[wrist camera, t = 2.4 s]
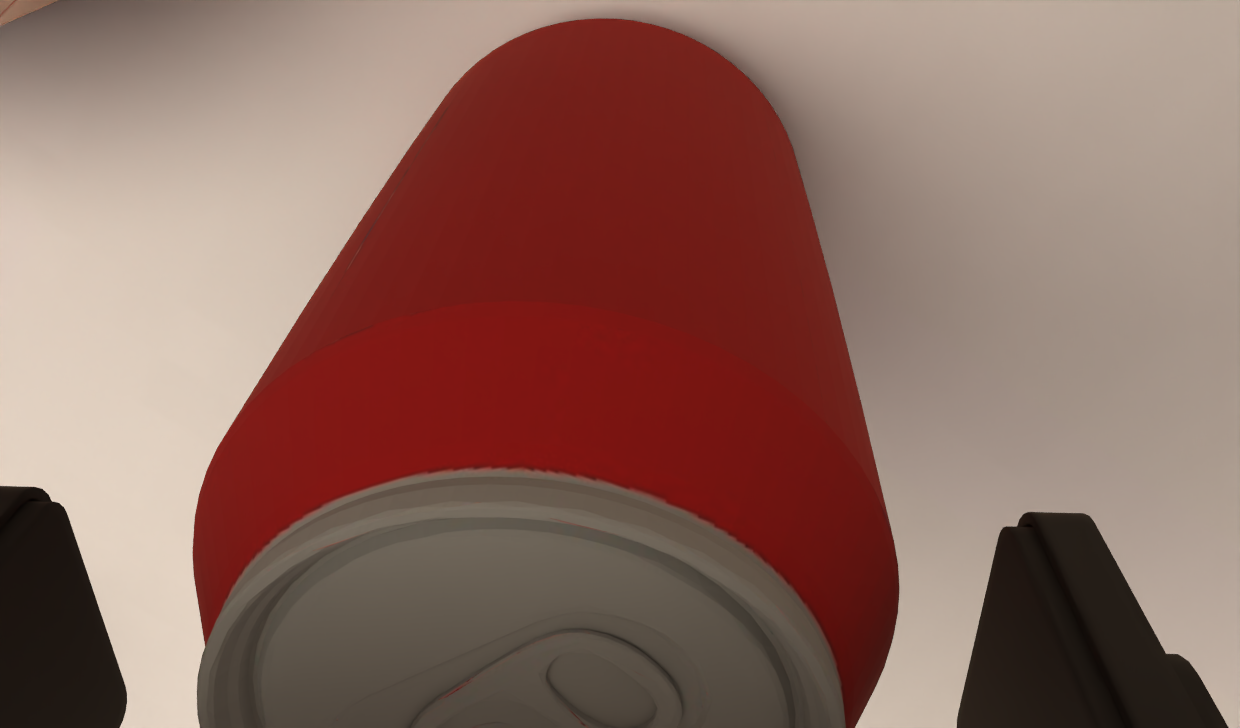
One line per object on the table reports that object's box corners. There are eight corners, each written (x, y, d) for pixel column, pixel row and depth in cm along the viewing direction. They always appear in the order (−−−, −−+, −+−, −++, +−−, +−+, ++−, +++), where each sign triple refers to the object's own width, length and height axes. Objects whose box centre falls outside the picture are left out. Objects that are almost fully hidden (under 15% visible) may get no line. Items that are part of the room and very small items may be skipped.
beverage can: (346, 181, 19) (-51, 716, 9) (621, -89, 16) (514, 222, 6) (601, 417, 21) (522, 1055, 11) (877, 214, 19) (1106, 802, 9)
